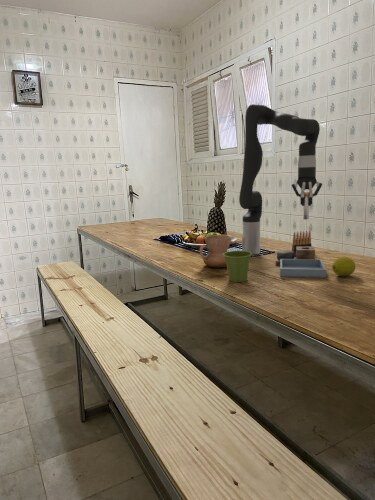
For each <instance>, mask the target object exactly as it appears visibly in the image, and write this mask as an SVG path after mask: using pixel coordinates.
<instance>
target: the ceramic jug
mask: <svg viewBox="0 0 375 500" xmlns="http://www.w3.org/2000/svg"><path fill="white" fill-rule="evenodd" d="M204 242H205V244H202V245H200V246H199V255H200V257H201V258H202V260H203V264H204V265H206V266H208V267H211V268H219V269H221V268H227V265H226V261H225V258H224V256H223V253H225V252H228V250H229V247H230V245H231V244H232V245H235V244H236V243H235V241H234V240H232V236H231V235H229V234H215V235H209V236H205V237H204ZM205 248H206V249H208V251H209V252H208V253H207V254H206V255H204V249H205Z"/></svg>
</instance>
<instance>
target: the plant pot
mask: <svg viewBox="0 0 375 500" xmlns="http://www.w3.org/2000/svg"><path fill="white" fill-rule="evenodd" d="M223 256H224V258H225V261H226V265H227V266H226V271H227V276H228V279H229V281H230V282H232V283H238V282H240V283H243V282H247V280H248V276H249V275H248V273H249V269H250V261H251V258H252V257H251V256H253V255H252V253H251V252H248V251H242V250H230V251H227V252H225V253H223Z"/></svg>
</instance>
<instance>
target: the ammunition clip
mask: <svg viewBox="0 0 375 500" xmlns="http://www.w3.org/2000/svg"><path fill="white" fill-rule="evenodd" d="M292 236H293V238H292V245H291V251H293V252H294V254H296V247H312V233H311V230H309V231H308V230H306V231H304V230H303V231H297V232H296V231H294V232H293V235H292Z"/></svg>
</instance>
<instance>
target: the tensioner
mask: <svg viewBox="0 0 375 500" xmlns="http://www.w3.org/2000/svg"><path fill="white" fill-rule="evenodd" d="M280 259H316V249H315V247H314V246H311V247H296V254H294V252H293V251H292V250H278V251H276V255H275V266H280Z"/></svg>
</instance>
